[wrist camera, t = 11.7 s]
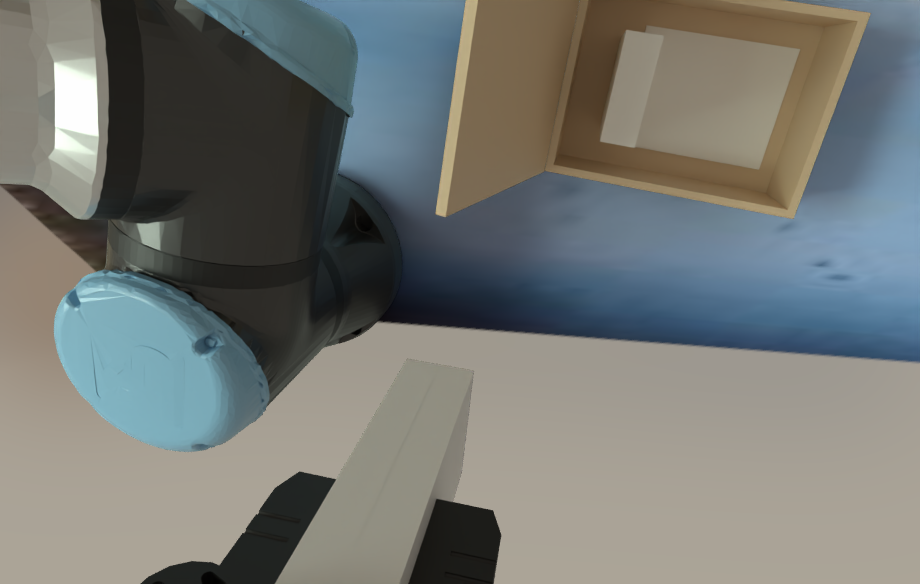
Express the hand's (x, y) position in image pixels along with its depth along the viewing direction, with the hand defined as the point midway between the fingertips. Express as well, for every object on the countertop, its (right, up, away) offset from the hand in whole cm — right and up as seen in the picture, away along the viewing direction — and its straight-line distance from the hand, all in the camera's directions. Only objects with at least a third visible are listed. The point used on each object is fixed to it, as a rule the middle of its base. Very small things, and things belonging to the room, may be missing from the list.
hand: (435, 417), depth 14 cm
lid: (+4, +14, +17) cm, 23 cm away
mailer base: (+16, +17, +29) cm, 37 cm away
